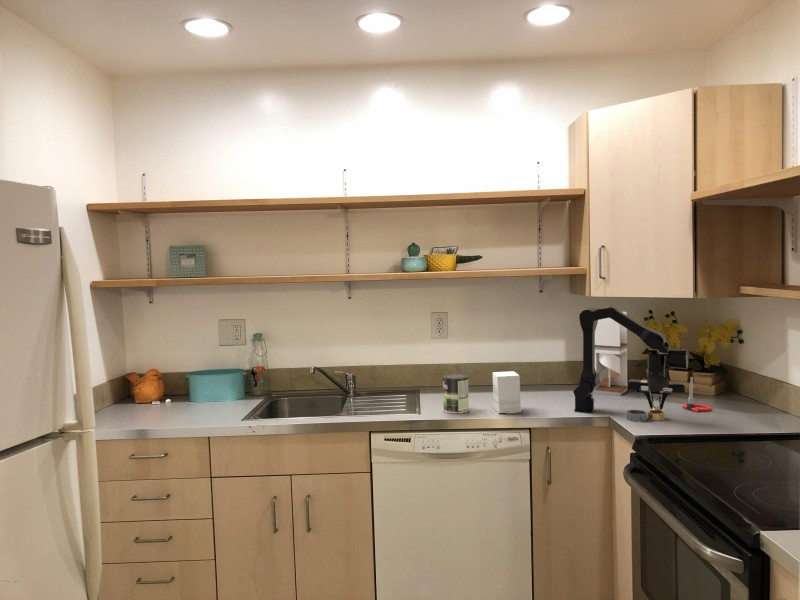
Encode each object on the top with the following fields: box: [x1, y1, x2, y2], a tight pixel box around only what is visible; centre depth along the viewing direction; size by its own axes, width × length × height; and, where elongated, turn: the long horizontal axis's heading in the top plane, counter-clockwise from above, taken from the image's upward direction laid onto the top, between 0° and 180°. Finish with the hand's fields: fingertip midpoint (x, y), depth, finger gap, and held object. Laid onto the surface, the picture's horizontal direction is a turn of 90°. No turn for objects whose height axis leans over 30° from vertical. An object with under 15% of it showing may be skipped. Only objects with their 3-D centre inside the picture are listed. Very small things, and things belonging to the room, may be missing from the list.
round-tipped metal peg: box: [651, 394, 662, 413], centre depth 210 cm, size 3×3×7 cm
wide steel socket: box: [625, 409, 648, 422], centre depth 211 cm, size 7×7×2 cm
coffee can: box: [442, 372, 470, 414], centre depth 231 cm, size 10×10×14 cm
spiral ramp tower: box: [593, 311, 628, 396], centre depth 253 cm, size 11×11×35 cm
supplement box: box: [492, 370, 522, 414], centre depth 228 cm, size 9×9×15 cm
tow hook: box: [682, 376, 712, 413], centre depth 221 cm, size 8×13×9 cm
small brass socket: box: [647, 409, 666, 421], centre depth 210 cm, size 6×6×2 cm
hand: (656, 409), depth 210 cm, fingers closed on round-tipped metal peg, 3 cm apart
